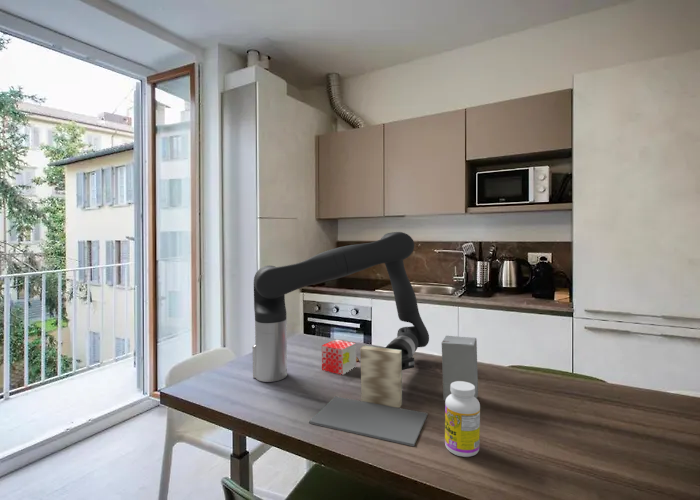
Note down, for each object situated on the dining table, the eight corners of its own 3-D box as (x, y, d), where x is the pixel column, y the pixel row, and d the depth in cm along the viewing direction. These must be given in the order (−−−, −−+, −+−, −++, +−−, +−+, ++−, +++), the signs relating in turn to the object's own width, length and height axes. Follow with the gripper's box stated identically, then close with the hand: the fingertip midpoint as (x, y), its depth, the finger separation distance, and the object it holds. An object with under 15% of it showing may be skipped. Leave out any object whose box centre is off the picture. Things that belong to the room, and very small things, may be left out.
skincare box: (478, 396, 98) (478, 336, 98) (475, 407, 92) (476, 344, 91) (445, 390, 102) (446, 333, 101) (440, 401, 95) (441, 340, 95)
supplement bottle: (440, 440, 78) (440, 379, 77) (471, 438, 78) (471, 378, 78) (451, 459, 71) (452, 393, 70) (485, 457, 72) (486, 391, 71)
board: (361, 401, 96) (360, 348, 94) (364, 397, 98) (363, 345, 96) (399, 408, 92) (398, 353, 90) (402, 403, 94) (401, 350, 93)
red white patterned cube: (342, 375, 114) (342, 349, 113) (321, 370, 118) (321, 345, 117) (356, 367, 120) (356, 342, 120) (336, 362, 124) (335, 339, 124)
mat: (309, 423, 85) (309, 421, 85) (335, 398, 97) (335, 396, 97) (413, 446, 75) (413, 444, 75) (427, 415, 88) (427, 413, 88)
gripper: (379, 336, 113) (358, 352, 97) (422, 340, 108) (408, 359, 92) (378, 360, 114) (358, 381, 98) (422, 366, 109) (407, 389, 93)
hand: (382, 370), depth 95 cm, fingers closed
